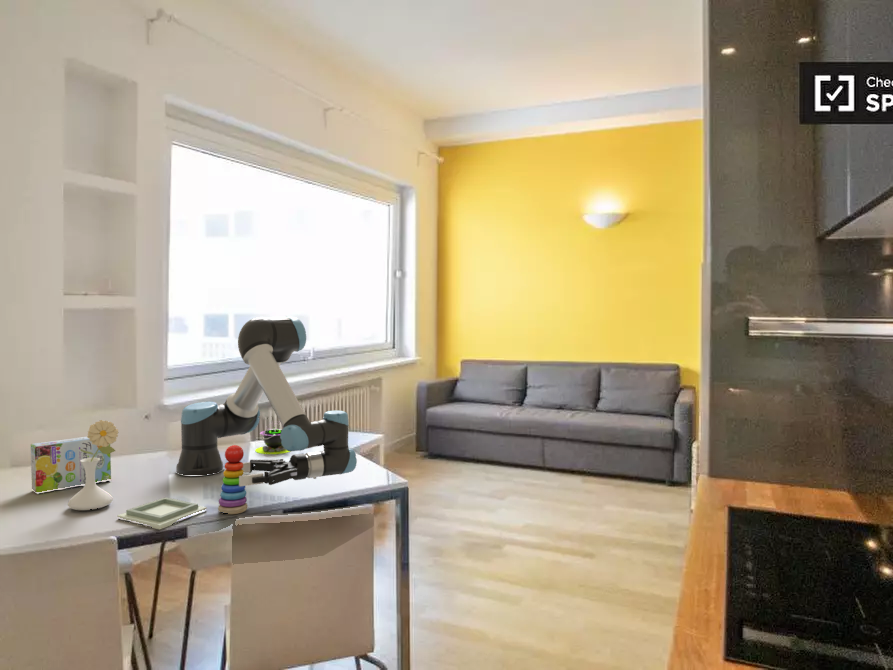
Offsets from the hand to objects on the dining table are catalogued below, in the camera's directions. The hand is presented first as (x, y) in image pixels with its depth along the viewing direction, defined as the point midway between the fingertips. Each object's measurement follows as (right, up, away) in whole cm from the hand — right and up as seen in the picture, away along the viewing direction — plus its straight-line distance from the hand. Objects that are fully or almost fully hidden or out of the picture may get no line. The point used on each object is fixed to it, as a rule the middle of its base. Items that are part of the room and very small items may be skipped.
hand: (233, 475), depth 183 cm
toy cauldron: (-8, -6, +74) cm, 75 cm away
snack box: (-58, -9, +22) cm, 62 cm away
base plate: (-18, -10, -4) cm, 21 cm away
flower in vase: (-41, -10, +3) cm, 42 cm away
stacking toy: (0, -11, +1) cm, 11 cm away
